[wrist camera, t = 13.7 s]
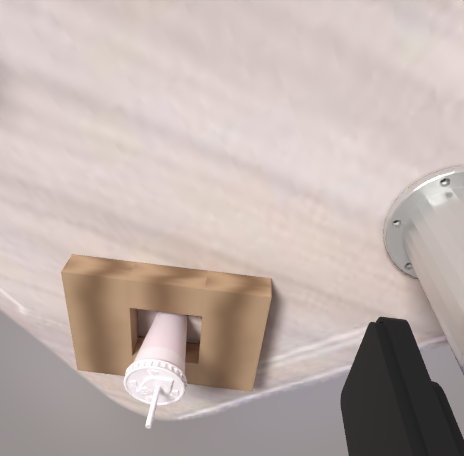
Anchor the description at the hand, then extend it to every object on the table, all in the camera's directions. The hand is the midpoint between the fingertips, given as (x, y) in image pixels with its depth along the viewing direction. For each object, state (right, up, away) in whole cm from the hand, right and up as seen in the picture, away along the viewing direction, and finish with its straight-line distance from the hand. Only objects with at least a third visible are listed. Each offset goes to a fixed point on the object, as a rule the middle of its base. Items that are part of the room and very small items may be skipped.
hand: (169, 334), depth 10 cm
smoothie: (-6, -8, +40) cm, 41 cm away
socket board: (-6, -8, +40) cm, 41 cm away
